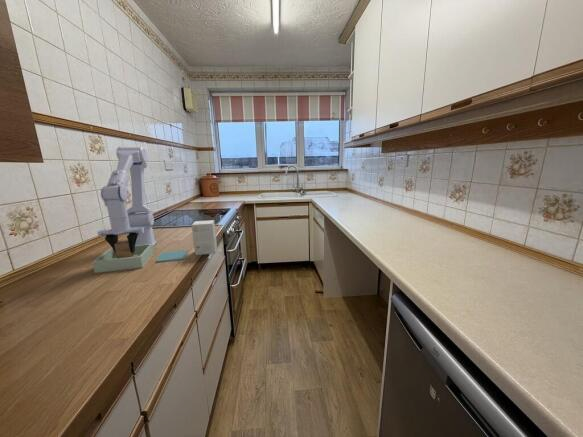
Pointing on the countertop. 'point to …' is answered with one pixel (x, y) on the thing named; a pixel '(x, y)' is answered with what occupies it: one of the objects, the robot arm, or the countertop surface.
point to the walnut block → (123, 249)
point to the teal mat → (172, 256)
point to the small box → (204, 237)
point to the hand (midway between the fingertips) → (125, 252)
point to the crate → (123, 259)
